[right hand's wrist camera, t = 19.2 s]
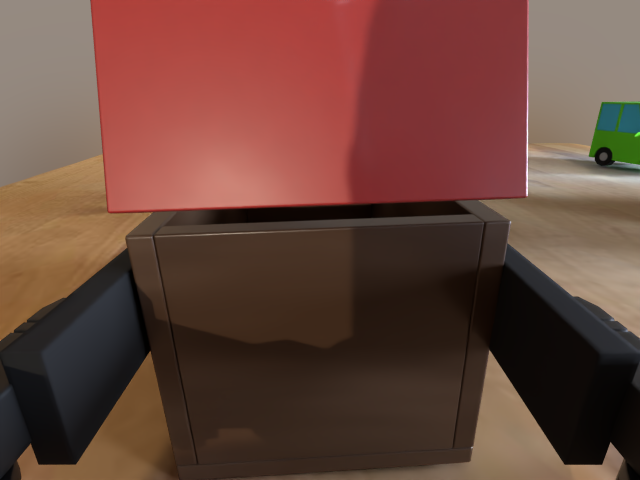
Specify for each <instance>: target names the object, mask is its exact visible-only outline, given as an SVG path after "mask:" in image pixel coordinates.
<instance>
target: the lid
mask: <svg viewBox="0 0 640 480" xmlns="http://www.w3.org/2000/svg"><path fill="white" fill-rule="evenodd" d="M90 1H91V13H92V26H93V37H94V50H95V63H96V75H97V87H98V100H99V112H100V124H101V137H102V149H103V162H104V174H105V186H106V199H107V211H108V213H144V212H170V211H197V210H224V209H251V208H278V207H304V206H331V205H358V204H385V203H411V202H438V201H465V200H492V199H514V198H526V197H527V195H528V0H90Z"/></svg>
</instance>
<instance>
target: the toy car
mask: <svg viewBox="0 0 640 480" xmlns="http://www.w3.org/2000/svg"><path fill="white" fill-rule="evenodd" d="M589 157H595V161H596V163H597V164H599V165H601V166H605V165H611V164H613V163H614V162H615V161H619V162H626V163H631V164H638V165H640V102H602V104H601V108H600V112H599V116H598V120H597V124H596V128H595V132H594V137H593V141H592V145H591V149H590V153H589Z"/></svg>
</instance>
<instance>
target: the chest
mask: <svg viewBox="0 0 640 480" xmlns="http://www.w3.org/2000/svg"><path fill="white" fill-rule="evenodd" d="M510 224H511V222H510V220H508V219H506V218H505V217H503V216H502V215H500V214H499V213H497V212H495V211H494V210H492V209H491V208H489V207H487V206H486V205H484V204H483V203H481V202H480V201H478V200H465V201H438V202H411V203H385V204H358V205H331V206H304V207H278V208H251V209H224V210H197V211H170V212H153V213H152V214H151V215H150V216H149V217H147V218H146V219H145V220H144V221H143V222H142V223H140V224H139V225H138V226H137V227H136V228H135V229H134V230H132V231H131V232H130V233H129V234H128V235H127V236H126V238H125V239H126V244H127V248H128V253H129V257H130V262H131V266H132V270H133V275H134V279H135V284H136V288H137V293H138V297H139V301H140V306H141V310H142V315H143V319H144V324H145V328H146V333H147V337H148V341H149V346H150V350H151V355H152V359H153V364H154V368H155V373H156V377H157V381H158V386H159V390H160V395H161V399H162V404H163V408H164V413H165V417H166V421H167V426H168V430H169V435H170V439H171V444H172V448H173V453H174V457H175V461H176V465H177V471H178V475H179V479H180V480H201V479H216V478H232V477H247V476H263V475H278V474H293V473H309V472H324V471H340V470H355V469H370V468H386V467H401V466H417V465H432V464H447V463H463V462H470V460H471V454H472V447H473V444H474V438H475V432H476V426H477V420H478V414H479V409H480V403H481V397H482V391H483V385H484V379H485V373H486V367H487V361H488V355H489V345H490V339H491V334H492V329H493V323H494V318H495V313H496V308H497V302H498V296H499V290H500V284H501V278H502V272H503V266H504V260H505V254H506V248H507V242H508V236H509V230H510Z"/></svg>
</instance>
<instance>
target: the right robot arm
mask: <svg viewBox="0 0 640 480" xmlns="http://www.w3.org/2000/svg"><path fill="white" fill-rule="evenodd" d="M489 349H490V351H491V352H492V354H493V356H494V357H495V359H496V360H497V362H498V363H499V365H500V366H501V368H502V369H503V371H504V372H505V374H506V375H507V377H508V379H509V380H510V382H511V383H512V385H513V386H514V388H515V389H516V391H517V392H518V394H519V395H520V397H521V398H522V400H523V402H524V403H525V405H526V406H527V408H528V409H529V411H530V412H531V414H532V415H533V417H534V418H535V420H536V421H537V423H538V424H539V426H540V428H541V429H542V431H543V432H544V434H545V435H546V437H547V438H548V440H549V441H550V443H551V444H552V446H553V447H554V449H555V451H556V452H557V454H558V455H559V457H560V458H561V460H562V461H563V463H564V464H565V465H602V463H603V461H604V458H605V455H606V453H607V450H608V447H609V444H610V442H611V443H612V444H613V445H614V447H615V448H616V449H617V450H618V451H619V453H620V454H621V455H622V456H623V457H624V460H623V462H622V465H621V467H620V470H619V473H618V475H617V478H616V480H640V339H639V338H638V337H637V336H636V335H634V334H633V333H632V332H629V331H627V328H625V327H624V326H623V325H621V324H620V323H619V322H618V321H614V318H612V317H611V316H610V315H609V314H607V313H606V312H605V311H603V310H602V309H601V308H600V307H598V306H596V305H594V304H592V303H590V302H588V301H586V300H584V299H582V298H580V297H573V296H571V295H570V294H569V293H568V292H567V291H565V290H564V289H563V288H562V287H560V286H559V285H558V284H557V283H556V282H554V281H553V280H552V279H551V278H549V277H548V276H547V275H546V274H544V273H543V272H542V271H541V270H540V269H538V268H537V267H536V266H535V265H533V264H532V263H531V262H530V261H529V260H527V259H526V258H525V257H524V256H522V255H521V254H520V253H519V252H518V251H516V250H515V249H514V248H513V247H511V246H510V245H509V244H508V243H507V248H506V254H505V260H504V266H503V272H502V278H501V284H500V290H499V296H498V302H497V308H496V313H495V318H494V323H493V329H492V334H491V339H490V345H489ZM149 352H150V346H149V341H148V337H147V333H146V328H145V324H144V319H143V315H142V310H141V306H140V301H139V297H138V293H137V288H136V284H135V279H134V275H133V270H132V266H131V262H130V257H129V253H128V248H127V249H125V250H124V251H123V252H122V253H120V254H119V255H118V256H117V257H116V258H114V259H113V260H112V261H111V262H109V263H108V264H107V265H106V266H105V267H103V268H102V269H101V270H100V271H98V272H97V273H96V274H95V275H94V276H92V277H91V278H90V279H89V280H87V281H86V282H85V283H84V284H83V285H81V286H80V287H79V288H78V289H76V290H75V291H74V292H73V293H72V294H70V295H69V296H68V297H67V298H62V299H60V300H58V301H56V302H54V303H52V304H50V305H48V306H46V307H44V308H42V309H41V310H39V311H38V312H37V313H35V314H34V315H33V316H32V317H30V318H29V319H28V320H27V323H23V324H21V325H20V326H19V327H18V328H16V329H15V330H14V333H10V334H9V335H7V336H6V337H5V338H4V339H2V340H1V341H0V480H21V472H20V467H19V465H18V462H17V459H18V458H19V457H20V456H21V454H22V453H23V452H24V451H25V449H26V448H27V447H28V446H29V445H30V443H31V445H32V448H33V451H34V453H35V456H36V459H37V462H38V464H39V465H76V464H77V462H78V461H79V459H80V457H81V456H82V454H83V453H84V451H85V450H86V448H87V447H88V445H89V444H90V442H91V441H92V439H93V438H94V436H95V434H96V433H97V431H98V430H99V428H100V427H101V425H102V424H103V422H104V421H105V419H106V418H107V416H108V415H109V413H110V411H111V410H112V408H113V407H114V405H115V404H116V402H117V401H118V399H119V398H120V396H121V395H122V393H123V392H124V390H125V388H126V387H127V385H128V384H129V382H130V381H131V379H132V378H133V376H134V375H135V373H136V372H137V370H138V368H139V367H140V365H141V364H142V362H143V361H144V359H145V358H146V356H147V355H148V353H149Z"/></svg>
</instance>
